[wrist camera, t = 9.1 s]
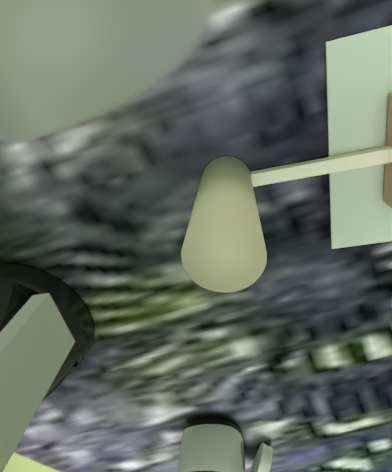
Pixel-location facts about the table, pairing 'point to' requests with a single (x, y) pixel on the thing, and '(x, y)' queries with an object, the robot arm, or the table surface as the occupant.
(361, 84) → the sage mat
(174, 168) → the table surface
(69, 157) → the table surface
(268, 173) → the tan block and peg
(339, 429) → the table surface
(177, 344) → the table surface
